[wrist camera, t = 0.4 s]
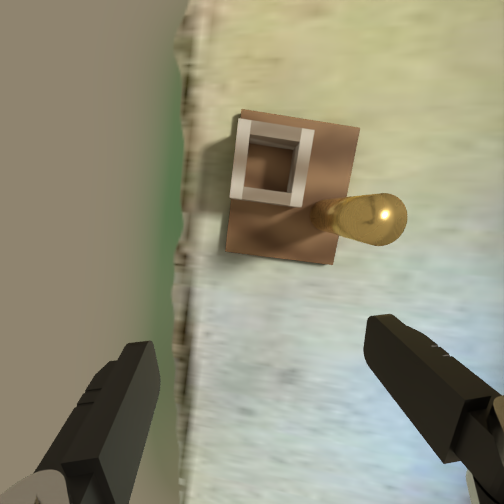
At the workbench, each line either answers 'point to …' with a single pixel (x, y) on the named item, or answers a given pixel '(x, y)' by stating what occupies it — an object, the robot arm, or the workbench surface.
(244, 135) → the socket block
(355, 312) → the workbench surface
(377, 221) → the golden metal peg
